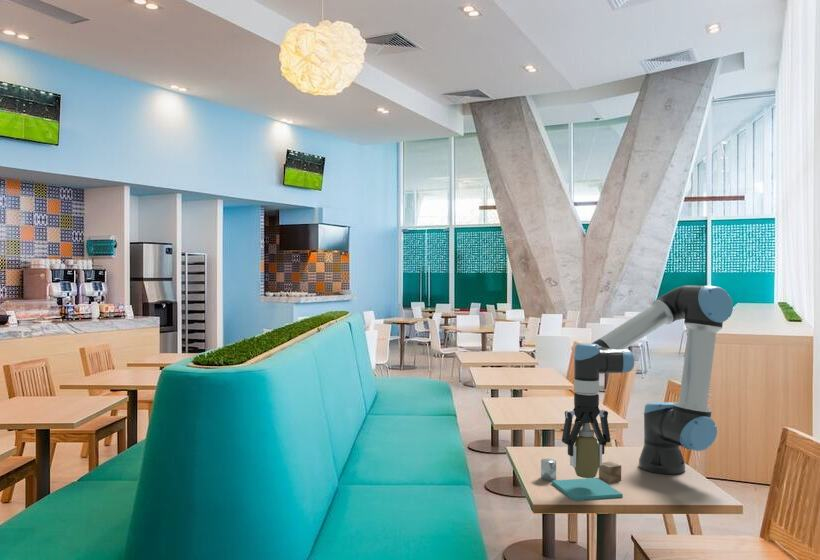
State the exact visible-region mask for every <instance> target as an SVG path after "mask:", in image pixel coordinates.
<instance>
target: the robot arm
mask: <svg viewBox="0 0 820 560" xmlns="http://www.w3.org/2000/svg"><path fill="white" fill-rule="evenodd" d="M733 305H734V304H733V299H732V297H731V295H729V294H728V292H727V290H725V289H724V288H722V287H720V286H714V285H691V284H689V285H687V284H686V285H682V286H679V287H676V288H674V289H671V290H670V291H668V292H666V293H664V294H662V295H661V296H659V297H657V298H656V299H655V300H653V301H652V302H651V305H650V306H649V307H648V308H646V309H644V310H643V311H641V312H640V313H637V314H636V315H635V316H633V317H632V318H630V319H628V320H627V321H625V322H624V323H622V324H620V325H619V326H617V327H615V328H614V329H612V330H610V331H609V332H608V333H606V334H605V335H602V337H599V338H598V339H596V340H595V341H593V342H591V343H587V342H586V343H585V342H583V343H577V344H576V345H575V347H574V355H573V356H574V357H573V359H574V366H573V367H574V368H573V370H574V375H573V376H574V380H573V381H574V382H573V383H574V384H573V385H574V388H573V390H574V392H575V393H574V395H573V396H574V397H573V405H574V407H573V409H572V410H571V411H570V410H569V411H568V410H565V411H564V418H565V419H564V425H563V426H564V427H563V431H562V436H561V443H563V444H565V445H567V455H568V456H569V463H570V464H569V466H572V467H573V468H574V467H576V446H575V441H576V438H577V436H579V431H580V429H582V427H583V423H589V424H590V426H591V427H592V430H594V436H595V438H596V439H597V445H598V455H599V466H602V463H603V455H604V454H605V446H606V445H607V444H608V443H611V440H612V439H611V433H610V428H609V422H608V417H609V412H608V411H607V410H604V409H600V408H599V405H600V395H599V394H598V393H600V375H601V374H624V373H630V372H631V371H633V369H634V367H635V355H634V354H633V352H632V351H631V350H630V349H628V347H631V346H632V345H634V344H635V343H637V342H639V341H640V340H641V339H643V338H644V337H646V336H648V335H650V334H651V333H652V332H654V331H656V330H657V329H659V328H660V327H662V326H663V325H671V324H672V323H674V322H676V321H678V320H684V321H683V324H684V325H685V326H686V328H687V335H686V336H687V337H686V344H685V352H684V359H683V367H682V368H683V369H682V375H681V384H680V390H679V398H678V400H677V401H676V402H674V401H653V402H647V403H646V404H645V405H644V412H643V427H644V428H643V432H644V433H643V435H644V436H643V439H644V440H643V441H644V442H643V447H642V449H641V452H640V456H639V458H638V467H639V468H640V469H643V471H647V472H651V473H654V474H664V475H677V474H678V475H679V474H682V473H685V471H686V463H685V462H686V461H685V460H684V457H683V456H684V455H683V453H682V450H681V447H682V448H684V449H686V450H691V451H694V452H695V451H696V452H701V451H705V450H707V449H708V448H709V447H711V446H712V445H713V444H714V442H715V440H716V439H717V435H718V427H717V424H716V423H715V421H714V420H713V419H712V409H711V408H710V407H709V406H708V403H709V392H710V384H711V378H712V369H713V362H714V354H715V344H716V340H717V339H716V338H717V333H718V332H719V331H720V330H722V329H723V324H724V323H725V322H726V321H727V320H729V318H730V317H731V316H732V314H733V310H734V309H733V307H734V306H733ZM574 416H575V417H576V418H575V420H574V424H573V418H574ZM598 416H599V418H600V419H599V420H600V426H601V428H600V426H599V422H598V419H597V418H598ZM572 424H573V427H572Z"/></svg>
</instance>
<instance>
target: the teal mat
mask: <svg viewBox="0 0 820 560" xmlns="http://www.w3.org/2000/svg"><path fill="white" fill-rule="evenodd" d="M551 485H553V486H554V487H556V488H557V489H558V490H559V491H560V492H562V493H563V494H564V495H566V496H567V497H568V498H570V499H571V500H572V499H573V500H575V501H585V500H584V499H590V500H603V499H615V498H617V499H618V498H623V493H622V492H620V491H619V490H617V489H615V488H614V487H612V485H610V484H608V483H606V481H604V480H603V479H600V478H599V477H594V478H574V479H570V478H569V479H559V480H558V479H556V480H553V481H551ZM573 500H572V501H573Z"/></svg>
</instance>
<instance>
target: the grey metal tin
mask: <svg viewBox="0 0 820 560" xmlns="http://www.w3.org/2000/svg"><path fill="white" fill-rule="evenodd" d="M540 479H541V480H542V481H544V480H545V482H552V481H553V480H557V460H555V459H554V458H553V459H552V458H542V459H541V460H540Z"/></svg>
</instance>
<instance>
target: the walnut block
mask: <svg viewBox="0 0 820 560" xmlns="http://www.w3.org/2000/svg"><path fill="white" fill-rule="evenodd" d="M598 478H599V479H600V480H602V481H604V482H607V483H613V482H619V481H622V465H621V464H618V463H617V462H616V463H615V462H612V461H606V462H602V466H599V468H598Z"/></svg>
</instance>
